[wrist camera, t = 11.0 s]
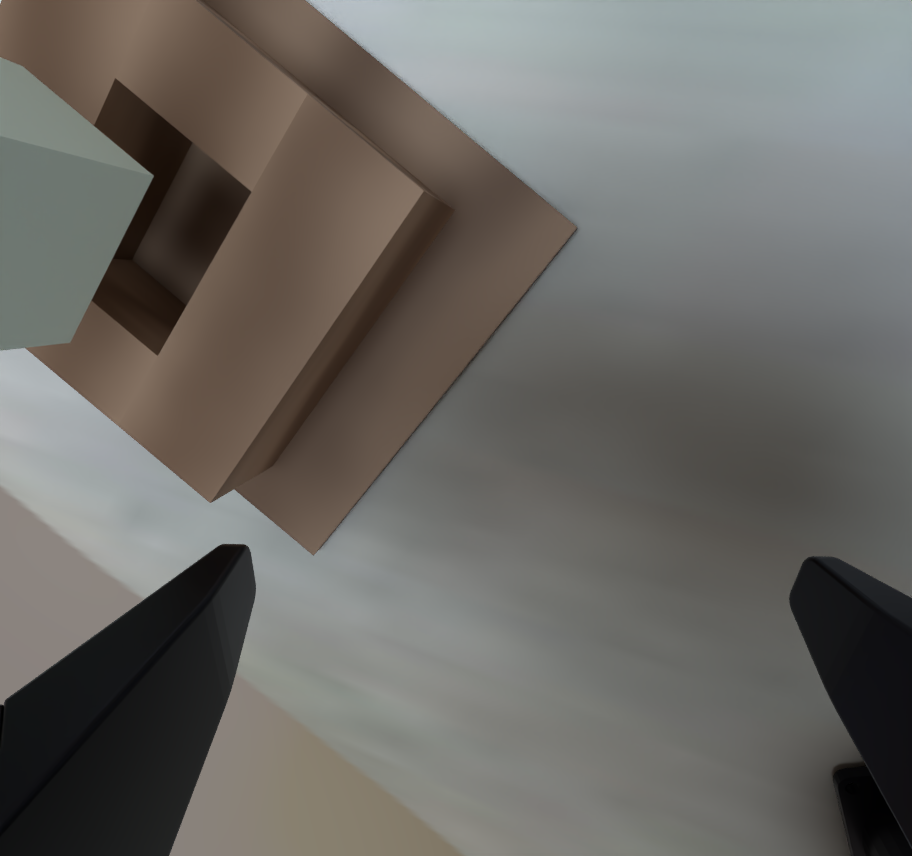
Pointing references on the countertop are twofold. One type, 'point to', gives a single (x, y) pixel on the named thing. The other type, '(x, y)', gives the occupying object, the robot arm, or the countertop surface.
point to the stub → (55, 210)
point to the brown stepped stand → (278, 245)
